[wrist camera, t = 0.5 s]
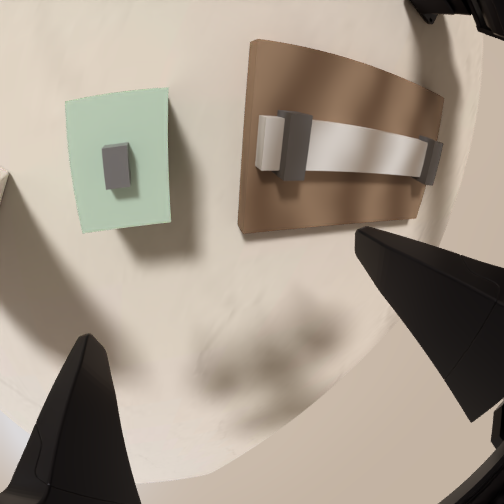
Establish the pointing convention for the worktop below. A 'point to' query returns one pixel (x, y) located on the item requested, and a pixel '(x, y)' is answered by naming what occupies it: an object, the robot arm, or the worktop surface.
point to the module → (120, 158)
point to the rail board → (332, 141)
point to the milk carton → (2, 181)
